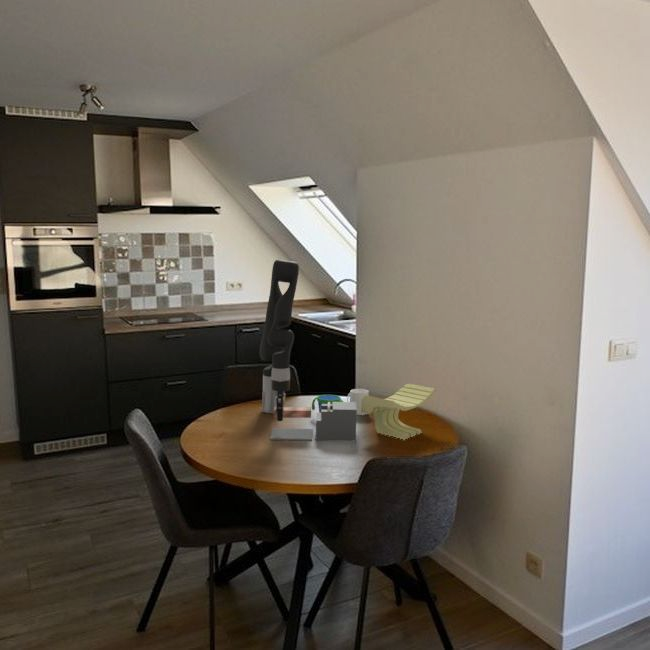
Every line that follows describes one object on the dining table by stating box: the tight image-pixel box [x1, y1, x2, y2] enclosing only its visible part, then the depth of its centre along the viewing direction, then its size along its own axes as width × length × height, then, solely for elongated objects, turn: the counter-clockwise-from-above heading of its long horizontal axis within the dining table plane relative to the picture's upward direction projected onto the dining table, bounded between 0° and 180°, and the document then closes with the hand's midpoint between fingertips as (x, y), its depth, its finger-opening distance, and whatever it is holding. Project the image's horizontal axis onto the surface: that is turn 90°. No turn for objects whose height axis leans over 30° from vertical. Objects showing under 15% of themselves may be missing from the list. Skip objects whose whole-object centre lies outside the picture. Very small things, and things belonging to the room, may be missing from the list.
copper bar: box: [273, 406, 312, 419], centre depth 261 cm, size 15×5×3 cm, turn 90°
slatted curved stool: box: [361, 383, 436, 441], centre depth 267 cm, size 30×16×18 cm, turn 139°
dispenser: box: [315, 401, 357, 442], centre depth 262 cm, size 16×12×13 cm
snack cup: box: [311, 394, 345, 413], centre depth 286 cm, size 16×10×10 cm
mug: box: [346, 388, 370, 416], centre depth 297 cm, size 9×12×11 cm
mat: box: [269, 427, 314, 442], centre depth 263 cm, size 17×14×1 cm
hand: (280, 418), depth 262 cm, fingers closed on copper bar, 5 cm apart
